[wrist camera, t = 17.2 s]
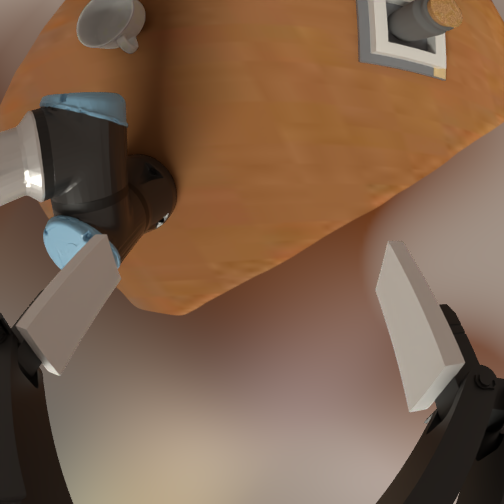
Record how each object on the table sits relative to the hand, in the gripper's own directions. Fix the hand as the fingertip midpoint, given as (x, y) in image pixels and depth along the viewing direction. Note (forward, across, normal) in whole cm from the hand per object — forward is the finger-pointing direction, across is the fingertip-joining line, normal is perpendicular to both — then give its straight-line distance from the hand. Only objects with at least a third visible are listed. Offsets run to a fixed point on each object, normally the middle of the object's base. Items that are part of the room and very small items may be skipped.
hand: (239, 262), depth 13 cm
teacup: (+37, +24, -22) cm, 49 cm away
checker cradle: (+37, -22, -21) cm, 48 cm away
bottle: (+36, -22, -21) cm, 47 cm away
